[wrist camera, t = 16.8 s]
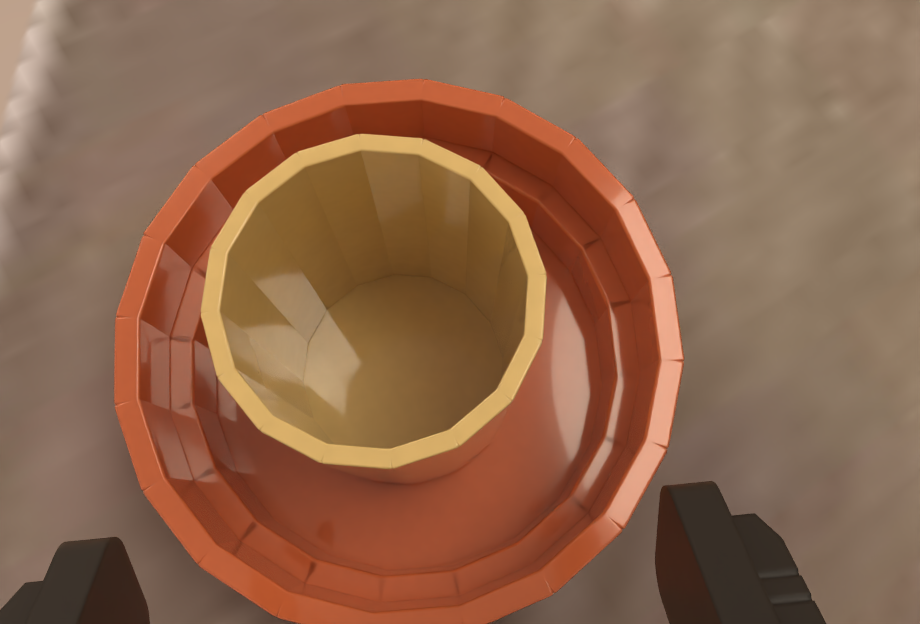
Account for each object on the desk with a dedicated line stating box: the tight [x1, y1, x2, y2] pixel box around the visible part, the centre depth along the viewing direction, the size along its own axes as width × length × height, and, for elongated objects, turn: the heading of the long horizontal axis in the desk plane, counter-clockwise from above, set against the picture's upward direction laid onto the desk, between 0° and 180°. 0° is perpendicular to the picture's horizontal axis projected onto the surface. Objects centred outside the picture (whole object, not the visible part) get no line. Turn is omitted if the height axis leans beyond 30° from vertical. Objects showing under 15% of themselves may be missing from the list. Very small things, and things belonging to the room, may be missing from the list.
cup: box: [201, 134, 547, 485], centre depth 20 cm, size 6×6×9 cm
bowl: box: [114, 79, 684, 624], centre depth 22 cm, size 13×13×5 cm
